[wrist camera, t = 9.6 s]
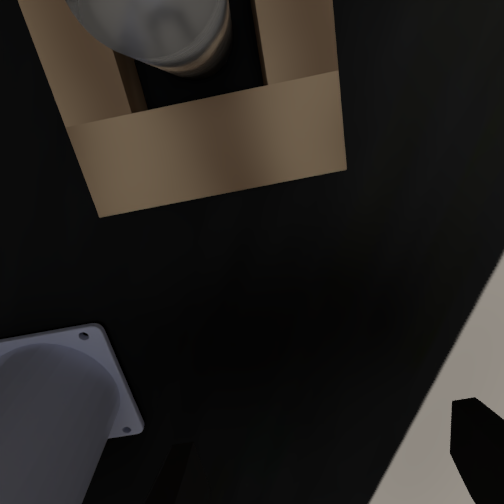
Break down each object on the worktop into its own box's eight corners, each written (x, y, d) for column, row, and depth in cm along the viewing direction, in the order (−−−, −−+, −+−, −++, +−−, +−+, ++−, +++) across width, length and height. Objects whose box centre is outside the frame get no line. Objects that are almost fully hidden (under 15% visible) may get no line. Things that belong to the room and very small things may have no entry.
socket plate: (119, 201, 17) (99, 217, 14) (0, -141, 12) (-57, -198, 10) (331, 159, 16) (346, 169, 14) (294, -214, 11) (307, -293, 9)
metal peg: (168, 89, 15) (95, 77, 7) (139, 1, 14) (17, -118, 6) (242, 67, 15) (241, 32, 7) (219, -25, 13) (191, -180, 6)
